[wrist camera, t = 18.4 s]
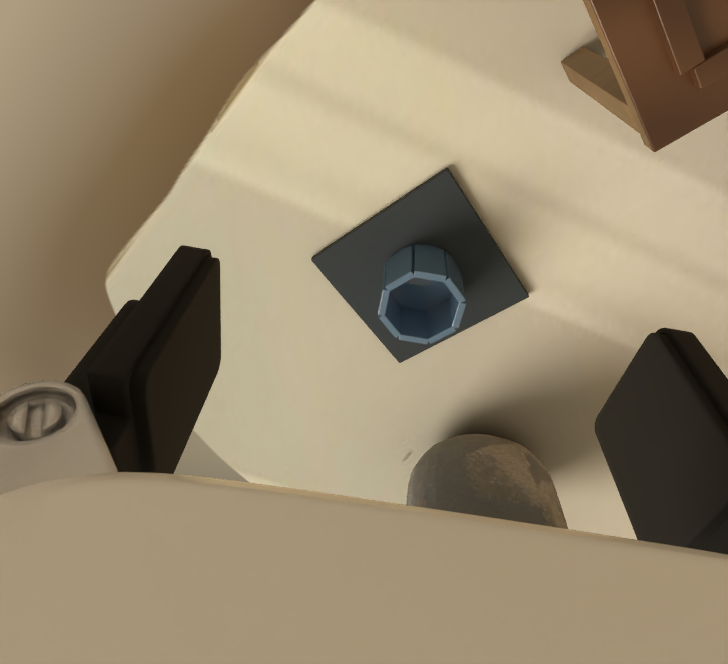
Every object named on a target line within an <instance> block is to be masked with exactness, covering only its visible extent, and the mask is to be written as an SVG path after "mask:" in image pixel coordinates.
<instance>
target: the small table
mask: <svg viewBox="0 0 728 664" xmlns="http://www.w3.org/2000/svg"><path fill="white" fill-rule="evenodd" d="M583 1H584V4H585V6H586V8H587V11H588V13H589V16H590V18H591V20H592V23H593V25H594V27H595V30H596V32H597V34H598V37H599V39H600V41H601V44H602V46H603V48H604V51H605V53H606V55H607V58H608V59H607V58H605V57H603V56H601V55H599V54H597V53H595V52H593V51H591V50H589V49H586V48H584V47H581V48H580V49H579V50H577V51H576V52H574V53H573V54H571V55H570V56H568V57H567V58H565V59H564V60H563V61H561V63H562V65H563V67H564V70H565V72H566V74H567V76H568V78H569V80H570V82H572V83H573V84H574V85H576V86H577V87H578V88H580V89H581V90H582V91H584V92H585V93H586V94H588V95H589V96H590V97H592V98H593V99H594V100H596V101H597V102H598V103H600V104H601V105H602V106H604V107H605V108H606V109H608V110H609V111H610V112H612V113H613V114H615V115H616V116H617V117H619V118H620V119H621V120H623V121H624V122H625V123H627V124H628V125H629V126H631V127H632V128H633V129H635V130H636V131H637V132H639V133H640V135H641V137H642V139H643V142H644V144H645V145H646V146H647V147H648V148H650V149H651V150H652V151H653V152H656V151H658V150H660V149H661V148H663V147H665V146H667V145H668V144H670V143H672V142H674V141H675V140H677V139H679V138H681V137H682V136H684V135H686V134H687V133H689V132H691V131H693V130H694V129H696V128H698V127H700V126H701V125H703V124H705V123H707V122H708V121H710V120H712V119H714V118H715V117H717V116H719V115H721V114H722V113H724V112H726V111H728V0H583Z"/></svg>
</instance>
